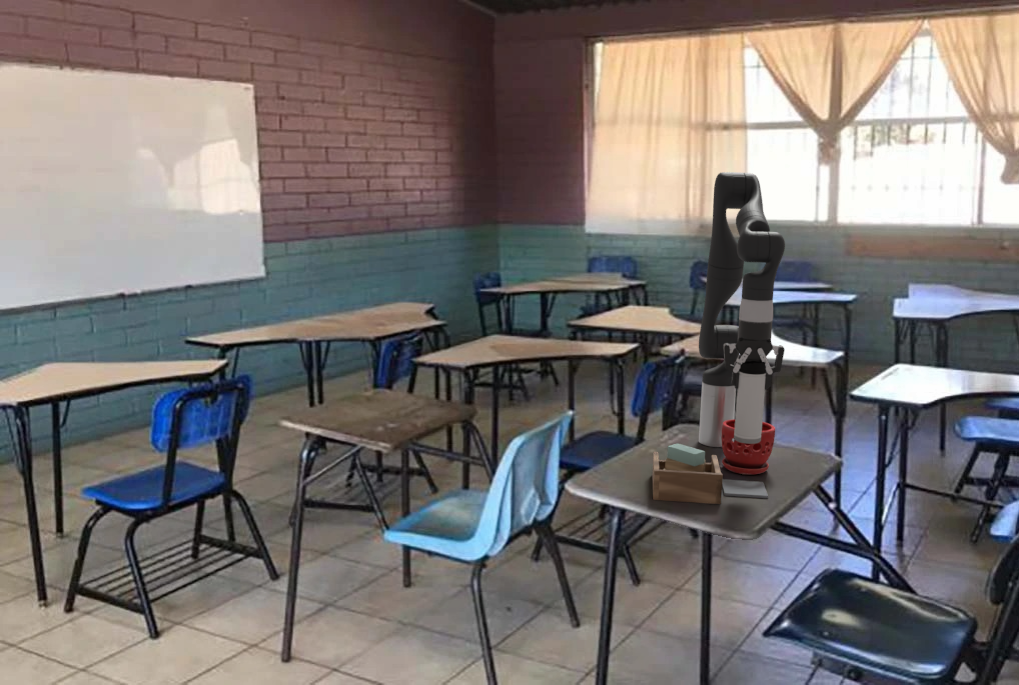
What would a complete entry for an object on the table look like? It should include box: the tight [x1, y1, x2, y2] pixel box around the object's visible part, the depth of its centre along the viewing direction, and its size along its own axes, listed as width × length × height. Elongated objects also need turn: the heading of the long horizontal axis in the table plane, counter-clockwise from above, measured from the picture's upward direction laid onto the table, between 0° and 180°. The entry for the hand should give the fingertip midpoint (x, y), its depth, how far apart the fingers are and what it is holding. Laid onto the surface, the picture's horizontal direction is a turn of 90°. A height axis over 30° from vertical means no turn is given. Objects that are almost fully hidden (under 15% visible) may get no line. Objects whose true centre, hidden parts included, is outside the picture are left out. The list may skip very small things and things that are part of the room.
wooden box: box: [651, 451, 724, 505], centre depth 230 cm, size 18×15×7 cm
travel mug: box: [733, 361, 766, 444], centre depth 227 cm, size 6×7×20 cm
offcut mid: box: [665, 457, 706, 472], centre depth 234 cm, size 4×9×3 cm, turn 74°
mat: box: [722, 478, 769, 499], centre depth 231 cm, size 10×10×1 cm
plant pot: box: [721, 418, 776, 476], centre depth 245 cm, size 13×13×12 cm
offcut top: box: [666, 443, 706, 466], centre depth 234 cm, size 4×8×3 cm, turn 41°
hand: (750, 388), depth 226 cm, fingers closed on travel mug, 6 cm apart
